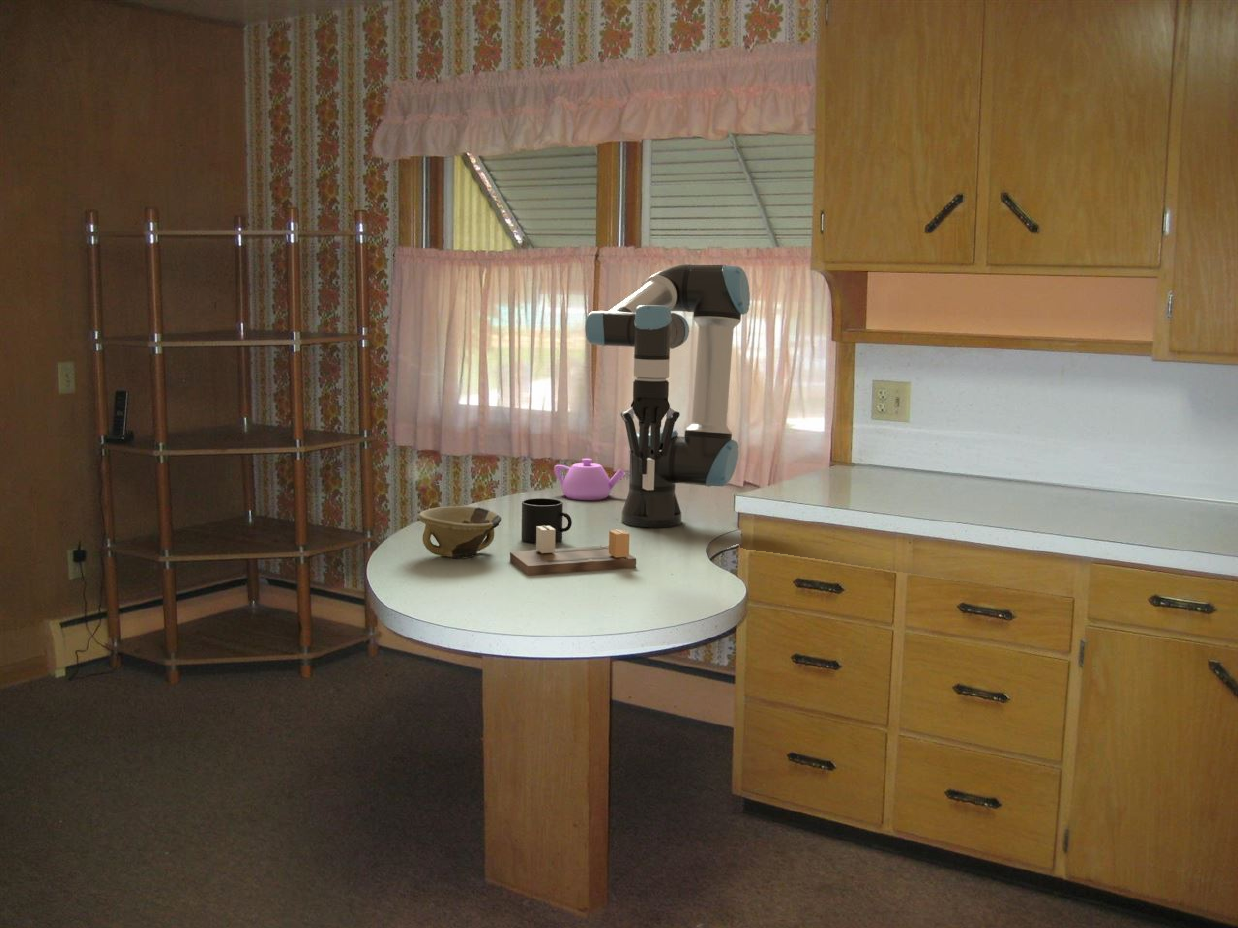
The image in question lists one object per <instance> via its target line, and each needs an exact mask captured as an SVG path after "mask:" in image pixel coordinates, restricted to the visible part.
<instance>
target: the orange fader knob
mask: <svg viewBox="0 0 1238 928" xmlns="http://www.w3.org/2000/svg"><path fill="white" fill-rule="evenodd" d="M608 537H609V538H608V543H609V544H608V546H609V554H611V555H612V556H614V557H629V555H630V533H629V532H627V531H626V530H624V529H617V528H615V529H612V530H609V535H608Z"/></svg>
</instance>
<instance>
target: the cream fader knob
mask: <svg viewBox="0 0 1238 928" xmlns="http://www.w3.org/2000/svg"><path fill="white" fill-rule="evenodd" d="M555 549H556V543H555V529H554V528H552V527H551V526H545V525H542V526H536V544H535V550H538V551H539V552H541V553H552V552H555Z"/></svg>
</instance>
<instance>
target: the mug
mask: <svg viewBox="0 0 1238 928" xmlns="http://www.w3.org/2000/svg"><path fill="white" fill-rule="evenodd" d="M563 505H564V504H563V501H562V500H559V499H556V498H555V499H554V498H547V497H546V498H545V497H544V498H543V497H542V498H541V497H539V498H537V497H536V498H528V499H524V500H522V501H521V536H520V537H521V541H522V542H524V543H527V544H534V545H536V526H542V525H545V526H551V527H552V528H554V529H555V544H557V543H559V542H561V541H562V540H563V532H567V531H569V530H570V529H571V527H572V524H573V521H572V518H571V515H570V514H568V513H566V512H564V511H563V507H564V506H563ZM563 517H564V518H565V519H566V521H567V526H566V527H563Z"/></svg>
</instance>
